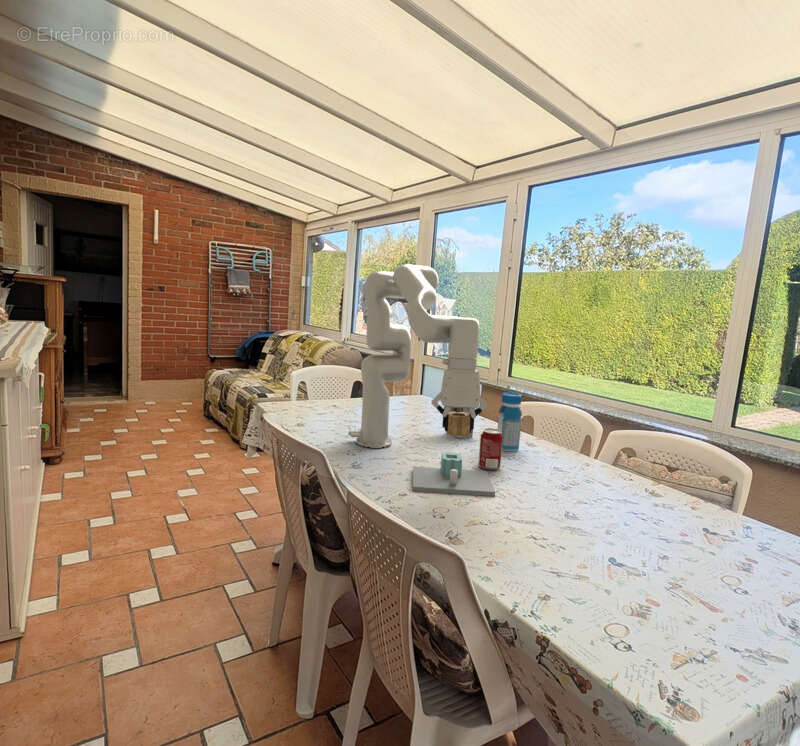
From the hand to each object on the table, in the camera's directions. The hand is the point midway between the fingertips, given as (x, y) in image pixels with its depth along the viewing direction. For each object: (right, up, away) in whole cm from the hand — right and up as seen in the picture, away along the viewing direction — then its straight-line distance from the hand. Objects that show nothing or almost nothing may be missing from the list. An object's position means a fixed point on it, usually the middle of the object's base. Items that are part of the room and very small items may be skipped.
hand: (457, 430), depth 127 cm
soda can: (+13, -15, +22) cm, 29 cm away
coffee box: (+8, -9, +57) cm, 59 cm away
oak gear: (0, -1, 0) cm, 1 cm away
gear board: (-1, -16, +7) cm, 17 cm away
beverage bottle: (+23, -12, +43) cm, 50 cm away
